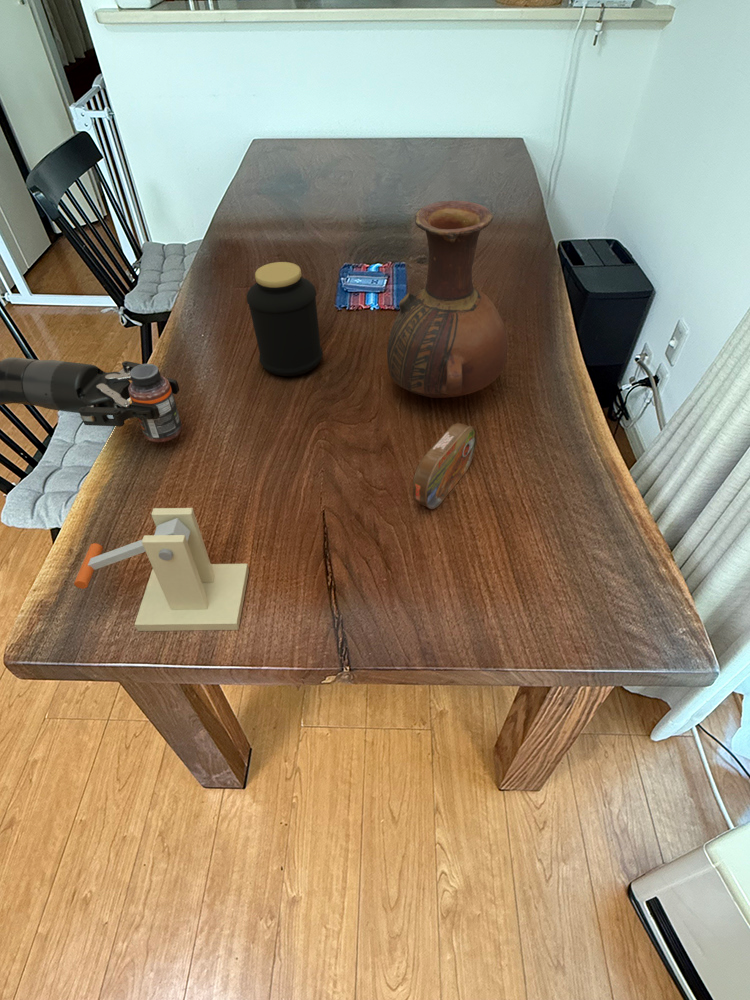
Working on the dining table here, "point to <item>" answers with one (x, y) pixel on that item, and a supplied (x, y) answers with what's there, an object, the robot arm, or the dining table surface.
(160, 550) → the cream lever stand
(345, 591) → the dining table surface
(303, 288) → the container
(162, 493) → the dining table surface
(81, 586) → the lever handle
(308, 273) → the dining table surface
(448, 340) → the vase
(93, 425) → the robot arm
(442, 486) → the tin
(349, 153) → the dining table surface
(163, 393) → the supplement bottle
